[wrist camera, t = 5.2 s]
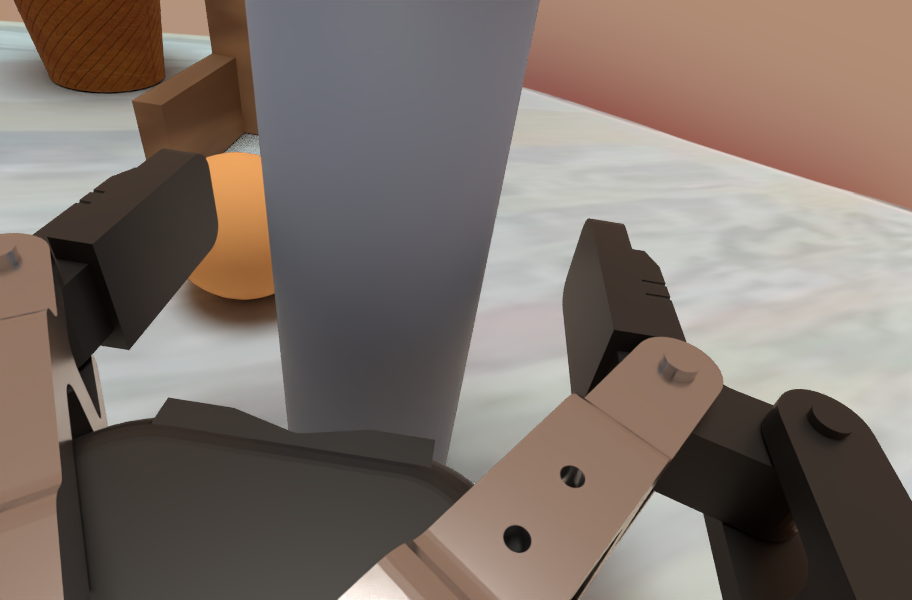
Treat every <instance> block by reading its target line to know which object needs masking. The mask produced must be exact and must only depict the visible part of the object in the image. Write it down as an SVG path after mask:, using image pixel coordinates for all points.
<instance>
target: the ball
mask: <svg viewBox="0 0 912 600" xmlns="http://www.w3.org/2000/svg"><path fill="white" fill-rule="evenodd" d="M206 160H207V162H208V164H209V169H210V175H211V181H212V187H213V193H214V199H215V205H216V211H217V217H218V234H217V239H216V242H215V244H214V246H213V248H212V249H211V251H210V252H209V253H208V254H207V256H206V257H205V258H204V259H203V260H202V262H201V263H200V264H199V265H198V266H197V268H196V269H195V270H194V271H193V273H192V274H191V275H190V276H189V277H188V279H189V280H190V281H191V282H192V283H194V284H195V285H197V286H198V287H200V288H202V289H203V290H205V291H208V292H210V293H212V294H215V295H218V296H221V297H225V298H231V299H241V300H247V299H257V298H262V297H266V296H269V295H272V294H274V293H275V292H274V283H273V273H272V263H271V253H270V243H269V233H268V223H267V213H266V204H265V194H264V184H263V174H262V164H261V156H259V155H255V154H249V153H241V152H230V153H222V154H217V155H213V156H210V157H207V158H206Z"/></svg>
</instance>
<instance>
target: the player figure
mask: <svg viewBox="0 0 912 600" xmlns="http://www.w3.org/2000/svg"><path fill="white" fill-rule="evenodd" d="M539 2H540V0H245V6H246V16H247V26H248V36H249V46H250V56H251V65H252V75H253V85H254V95H255V105H256V115H257V125H258V135H259V144H260V154H261V164H262V174H263V184H264V194H265V204H266V213H267V223H268V233H269V243H270V253H271V263H272V273H273V283H274V292H275V302H276V312H277V322H278V332H279V342H280V352H281V362H282V371H283V381H284V391H285V401H286V411H287V421H288V431H291V432H295V433H318V432H335V431H353V430H376V431H382V432H389V433H395V434H401V435H408V436H414V437H420V438H427V439H433V440H435V445H434V452H433V459H432V460H434V461H436V462H439V463H441V464H443V465H446V460H447V455H448V450H449V445H450V440H451V435H452V430H453V425H454V420H455V415H456V410H457V405H458V401H459V396H460V391H461V386H462V381H463V376H464V371H465V366H466V361H467V356H468V351H469V346H470V341H471V337H472V332H473V327H474V322H475V317H476V312H477V307H478V302H479V297H480V292H481V287H482V282H483V277H484V273H485V268H486V263H487V258H488V253H489V248H490V243H491V238H492V233H493V228H494V223H495V218H496V214H497V209H498V204H499V199H500V194H501V189H502V184H503V179H504V174H505V169H506V164H507V159H508V154H509V150H510V145H511V140H512V135H513V130H514V125H515V120H516V115H517V110H518V105H519V100H520V95H521V90H522V85H523V80H524V76H525V71H526V66H527V61H528V56H529V50H530V46H531V41H532V36H533V31H534V26H535V21H536V17H537V11H538V7H539Z"/></svg>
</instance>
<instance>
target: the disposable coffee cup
mask: <svg viewBox="0 0 912 600" xmlns="http://www.w3.org/2000/svg"><path fill="white" fill-rule="evenodd" d="M14 2H15V4H16V6H17V8H18V11H19V13H20V15H21V17H22V19H23V21H24V23H25V26H26V28H27V30H28V32H29V34H30V36H31V39H32V41H33V43H34V44H35V47H36V49H37V51H38V53H39V55H40V58H41V60H42V61H43V63H44V66H45V68H46V70H47V72H48V75H49V77H50V79H51V80H52V81H53V82H55V83H57V84H59V85H61V86H64V87H68V88H71V89H76V90H82V91H91V92H120V91H131V90H137V89H142V88H146V87H149V86H152V85H154V84H156V83H159V82H160V81H162V80H163V79H164V77H165V69H164V56H163V41H162V27H161V13H160V12H161V10H160V0H14Z"/></svg>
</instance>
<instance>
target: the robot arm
mask: <svg viewBox="0 0 912 600" xmlns="http://www.w3.org/2000/svg"><path fill="white" fill-rule="evenodd" d="M217 234H218V217H217V211H216V205H215V199H214V193H213V187H212V181H211V175H210V169H209V164H208V162H207V160H206V158H205V157H204V156H203V155H201V154H197V153H191V152H185V151H179V150H172V149H166V148H164V149H161V150H159V151H158V152H157V153H155V154H154V155H153V156H151V157H150V158H149V159H147V160H146V161H145V162H144V163H142V164H141V165H140V166H138V167H137V168H133V169H130V170H128V171H125V172H122V173H120V174H117V175H114V176H112V177H110V178H109V179H107V180H106V181H105V182H103V183H102V184H101V185H99V186H98V187H96V188H95V189H94V192H93V193H92V192H90V193H88V194H87V195H86V196H84V197H83V198H82V199H80V202H79V203H75V204H74V205H72V206H71V207H69V208H68V209H67V210H65V211H64V212H63V213H61V214H60V215H59V216H57V217H56V218H55V219H53V220H52V221H51V222H49V223H48V224H47V225H45V226H44V227H43V228H41V229H40V230H38V231H37V232H36V233H34V234H33V235H29V234H21V233H7V234H0V600H579V599H580V598H581V597H582V595H583V594H584V592H585V591H586V589H587V588H588V586H589V585H590V583H591V582H592V581H593V579H594V578H595V576H596V575H597V573H598V572H599V570H600V569H601V567H602V566H603V564H604V563H605V561H606V560H607V559H608V557H609V556H610V554H611V553H612V552H613V550H614V549H615V547H616V546H617V544H618V543H619V542H620V540H621V539H622V537H623V536H624V535H625V533H626V532H627V530H628V529H629V527H630V526H631V525H632V523H633V522H634V520H635V519H636V518H637V516H638V515H639V513H640V512H641V511H642V509H643V508H644V506H645V505H646V503H647V502H648V501H649V499H650V498H651V496H652V495H653V494H654V492H655V491H656V492H658V493H660V494H662V495H664V496H667V497H669V498H671V499H673V500H675V501H678V502H680V503H682V504H684V505H686V506H689V507H691V508H693V509H695V510H697V511H700V512H702V513H703V514H704V519H705V523H706V528H707V532H708V536H709V541H710V545H711V550H712V554H713V559H714V563H715V567H716V572H717V576H718V581H719V585H720V589H721V594H722V598H723V600H912V501H911V499H910V497H909V495H908V494H907V492H906V490H905V488H904V487H903V485H902V483H901V481H900V479H899V478H898V476H897V474H896V472H895V471H894V469H893V467H892V465H891V464H890V462H889V460H888V458H887V457H886V455H885V453H884V451H883V450H882V448H881V446H880V444H879V443H878V441H877V439H876V437H875V435H874V434H873V432H872V431H871V429H870V428H869V427H868V425H867V424H866V423H865V422H864V421H863V420H862V419H861V418H860V417H859V416H858V415H857V414H856V413H855V412H853V411H852V410H851V409H849V408H848V407H846V406H845V405H844V404H842V403H840V402H838V401H837V400H835V399H833V398H831V397H829V396H827V395H824V394H821V393H818V392H815V391H811V390H805V389H794V390H789V391H787V392H785V393H784V394H782V395H781V396H780V398H779V399H778V400H777V402H776V403H775V404H774V405H771V404H769V403H766V402H763V401H761V400H758V399H756V398H753V397H751V396H748V395H746V394H743V393H740V392H738V391H736V390H733V389H731V388H729V387H727V386H725V385H723V377H722V374H721V371H720V370H719V368H718V366H717V365H716V364H715V363H714V361H713V360H712V359H711V358H710V357H709V356H708V355H706V354H705V353H704V352H703V351H701V350H699V349H698V348H696V347H695V346H693V345H691V344H689V343H687V342H686V340H685V337H684V334H683V331H682V328H681V326H680V323H679V320H678V317H677V315H676V312H675V309H674V306H673V303H672V301H671V300H670V295H669V292H668V289H667V287H665V281H664V278H663V276H662V273H661V270H660V267H659V266H658V265H657V264H656V263H655V262H654V261H653V260H652V259H651V258H650V257H649V255H648V254H647V253H646V252H645V251H641V250H634V249H632V247H631V244H630V241H629V237H628V234H627V231H626V227H625V225H624V224H620V223H614V222H608V221H602V220H596V219H590V218H589V219H587V220H586V222H585V224H584V226H583V229H582V232H581V235H580V238H579V241H578V244H577V247H576V250H575V253H574V256H573V259H572V262H571V265H570V269H569V272H568V275H567V278H566V282H565V286H564V292H563V315H564V325H565V335H566V345H567V354H568V364H569V374H570V384H571V393H572V395H570V396H569V397H568V398H566V399H565V400H564V401H563V402H562V403H561V404H560V405H559V406H558V407H557V408H556V409H555V410H554V411H552V412H551V413H550V414H549V415H548V416H547V417H546V418H545V419H544V420H543V421H542V422H541V423H540V424H539V425H538V426H537V427H536V428H534V429H533V430H532V431H531V432H530V433H529V434H528V435H527V436H526V437H525V438H524V439H523V440H522V441H521V442H520V443H519V444H517V445H516V446H515V447H514V448H513V449H512V450H511V451H510V452H509V453H508V454H507V455H506V456H505V457H504V458H503V459H502V460H500V461H499V462H498V463H497V464H496V465H495V466H494V467H493V468H492V469H491V470H490V471H489V472H488V473H487V474H486V475H485V476H484V477H482V478H481V479H480V480H479V481H478V482H477V483H476V484H475V485H474V484H473V483H472V482H471V481H469V480H468V479H466V478H465V477H464V476H462V475H461V474H459V473H458V472H456V471H454V470H453V469H451V468H449V467H447V466H445V465H443V464H441V463H439V462H436V461H434V460H432V459H433V452H434V445H435V440H433V439H427V438H420V437H414V436H408V435H401V434H395V433H389V432H382V431H376V430H353V431H335V432H318V433H295V432H291V431H288V430H286V429H284V428H281V427H279V426H276V425H274V424H271V423H269V422H267V421H264V420H262V419H259V418H257V417H255V416H252V415H250V414H247V413H245V412H242V411H240V410H238V409H235V408H231V407H224V406H218V405H212V404H205V403H199V402H193V401H186V400H180V399H174V398H168V399H167V400H166V402H165V403H164V405H163V406H162V408H161V409H160V411H159V412H158V414H157V415H156V417H155V418H149V419H142V420H135V421H129V422H124V423H120V424H116V425H112V426H109V427H108V423H107V417H106V412H105V406H104V400H103V394H102V389H101V383H100V377H99V372H98V366H97V363H96V361H95V358H94V356H93V353H94V352H95V351H96V350H97V348H98V347H99V346H100V345H101V346H107V347H113V348H120V349H126V350H129V349H130V348H131V347H132V346H133V345H134V343H135V342H136V341H137V340H138V339H139V337H140V336H141V335H142V334H143V332H144V331H145V330H146V329H147V328H148V326H149V325H150V324H151V323H152V321H153V320H154V319H155V318H156V317H157V315H158V314H159V313H160V312H161V310H162V309H163V308H164V307H165V306H166V304H167V303H168V302H169V301H170V299H171V298H172V297H173V296H174V295H175V293H176V292H177V291H178V290H179V288H180V287H181V286H182V285H183V284H184V282H185V281H186V280H187V279H188V277H189V276H190V275H191V274H192V273H193V271H194V270H195V269H196V268H197V266H198V265H199V264H200V263H201V262H202V260H203V259H204V258H205V257H206V256H207V254H208V253H209V252H210V251H211V249H212V248H213V246H214V244H215V242H216V239H217Z"/></svg>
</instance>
